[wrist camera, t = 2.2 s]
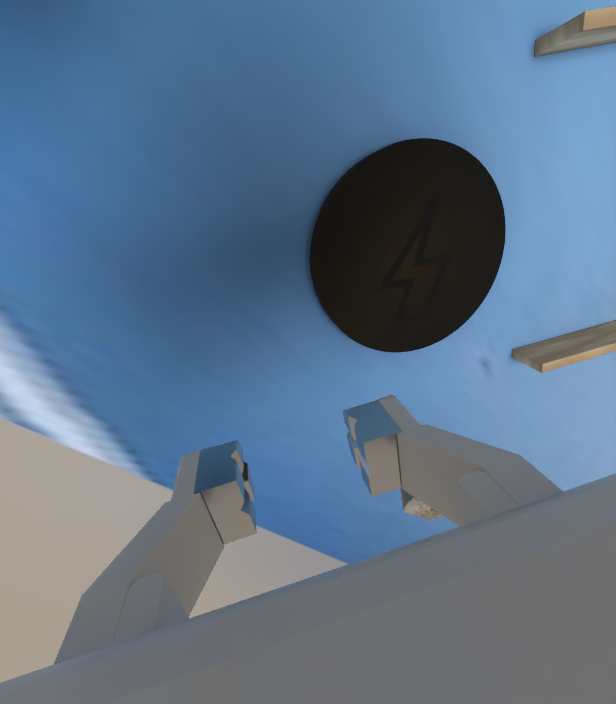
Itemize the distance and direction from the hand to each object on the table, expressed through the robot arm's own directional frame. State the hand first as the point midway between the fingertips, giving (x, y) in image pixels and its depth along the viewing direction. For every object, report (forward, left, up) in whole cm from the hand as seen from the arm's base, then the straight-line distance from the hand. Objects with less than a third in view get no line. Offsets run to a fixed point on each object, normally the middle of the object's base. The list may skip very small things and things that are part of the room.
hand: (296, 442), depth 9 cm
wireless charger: (0, +14, -22) cm, 26 cm away
